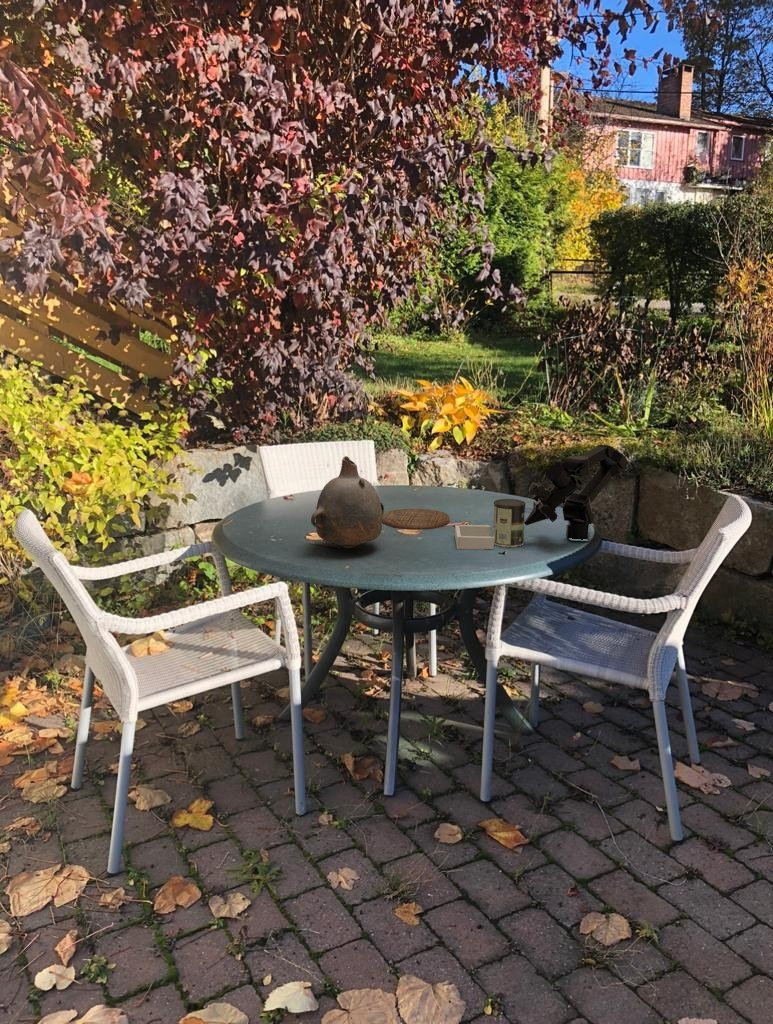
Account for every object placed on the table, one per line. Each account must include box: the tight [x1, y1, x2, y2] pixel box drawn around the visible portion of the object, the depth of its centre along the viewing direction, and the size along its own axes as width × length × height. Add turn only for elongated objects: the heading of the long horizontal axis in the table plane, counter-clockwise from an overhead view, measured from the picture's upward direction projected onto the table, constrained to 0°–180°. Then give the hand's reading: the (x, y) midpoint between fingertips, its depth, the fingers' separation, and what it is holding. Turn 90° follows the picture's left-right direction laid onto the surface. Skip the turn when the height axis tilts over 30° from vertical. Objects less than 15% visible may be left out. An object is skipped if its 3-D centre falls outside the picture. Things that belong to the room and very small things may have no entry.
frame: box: [454, 524, 495, 550], centre depth 264 cm, size 12×15×4 cm
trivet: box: [382, 508, 450, 531], centre depth 292 cm, size 25×25×2 cm
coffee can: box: [492, 498, 527, 548], centre depth 262 cm, size 10×10×14 cm
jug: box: [310, 455, 385, 550], centre depth 254 cm, size 24×21×30 cm
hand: (525, 524), depth 262 cm, fingers closed
